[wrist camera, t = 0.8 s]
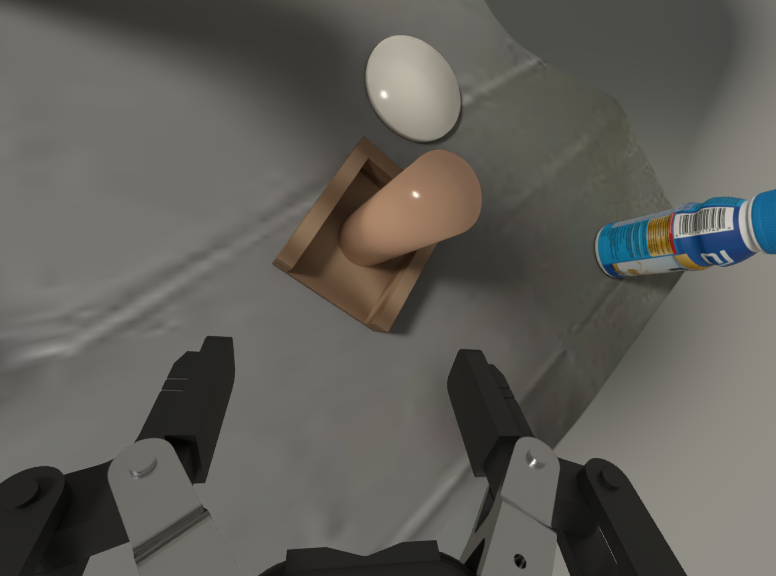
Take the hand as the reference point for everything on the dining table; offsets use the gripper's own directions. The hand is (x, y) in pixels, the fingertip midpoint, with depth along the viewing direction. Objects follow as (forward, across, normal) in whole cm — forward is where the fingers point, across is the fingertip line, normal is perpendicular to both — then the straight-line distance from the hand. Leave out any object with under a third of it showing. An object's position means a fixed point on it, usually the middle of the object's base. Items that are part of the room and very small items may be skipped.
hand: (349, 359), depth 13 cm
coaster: (+37, -8, -6) cm, 38 cm away
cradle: (+24, -3, +8) cm, 26 cm away
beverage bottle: (+34, -42, +10) cm, 55 cm away
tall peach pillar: (+24, -4, +7) cm, 26 cm away
